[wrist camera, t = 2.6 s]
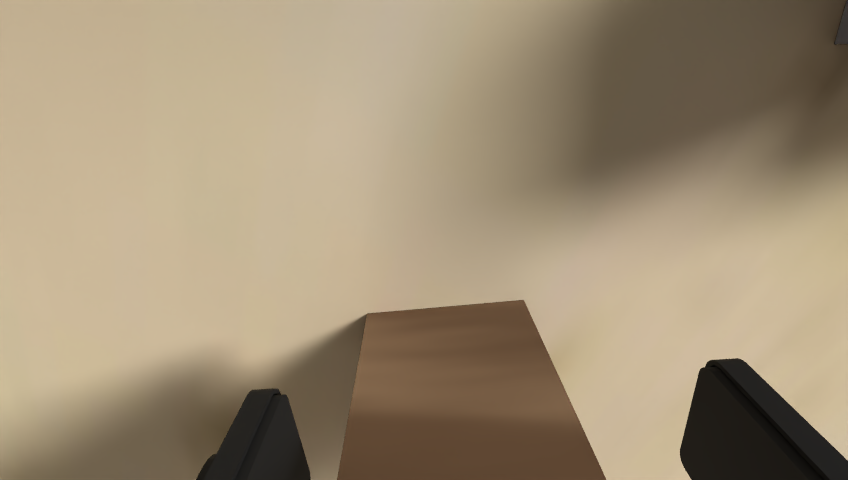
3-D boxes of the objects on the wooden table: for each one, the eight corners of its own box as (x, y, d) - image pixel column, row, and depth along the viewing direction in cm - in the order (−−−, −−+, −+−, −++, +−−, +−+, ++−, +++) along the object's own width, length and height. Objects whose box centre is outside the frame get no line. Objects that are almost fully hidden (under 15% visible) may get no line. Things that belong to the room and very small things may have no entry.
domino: (523, 340, 14) (690, 766, 5) (373, 353, 14) (315, 793, 6) (523, 300, 13) (713, 711, 5) (367, 313, 13) (289, 743, 5)
